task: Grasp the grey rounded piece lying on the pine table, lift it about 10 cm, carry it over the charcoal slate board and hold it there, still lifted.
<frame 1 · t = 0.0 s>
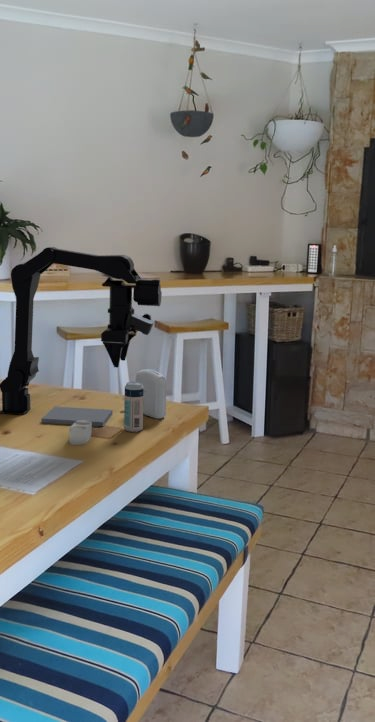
hand: (119, 363, 182), 15 cm above the table, fingers open, 9 cm apart
slate board: (78, 418, 182), on the table
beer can: (133, 430, 174), on the table
photo printer: (150, 415, 189), on the table
grey rounded piece: (80, 439, 165), on the table
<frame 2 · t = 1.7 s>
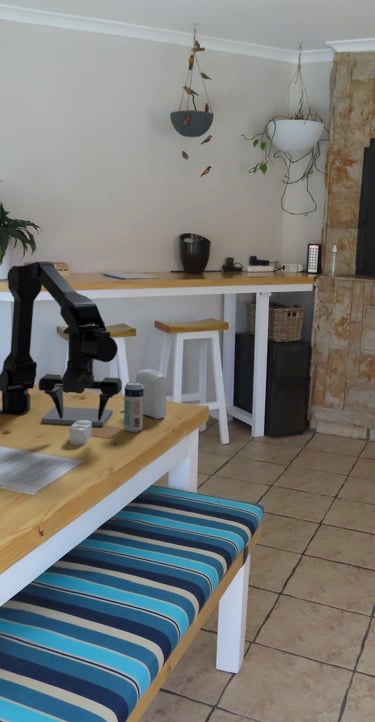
hand: (80, 419, 165), 5 cm above the table, fingers open, 9 cm apart
nothing on the table moved.
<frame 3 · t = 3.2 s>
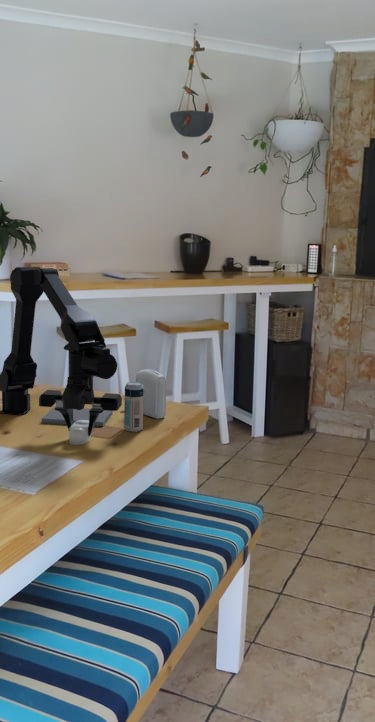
hand: (80, 435, 165), 1 cm above the table, fingers closed on grey rounded piece, 4 cm apart
grey rounded piece: (80, 439, 165), on the table, touching gripper
everything else where it was.
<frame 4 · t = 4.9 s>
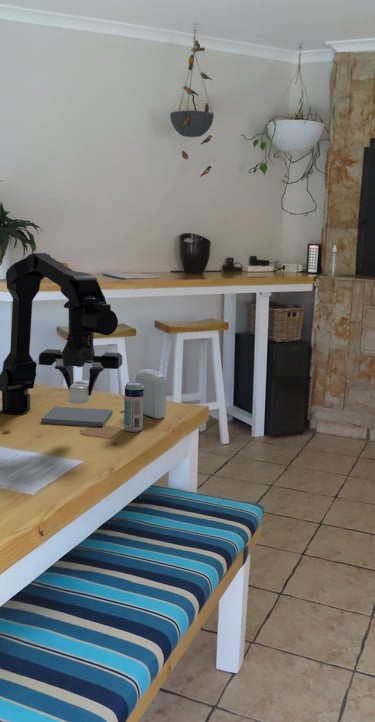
hand: (80, 394, 163), 11 cm above the table, fingers closed on grey rounded piece, 4 cm apart
grey rounded piece: (80, 399, 164), point 10 cm above the table, touching gripper
everything else where it was.
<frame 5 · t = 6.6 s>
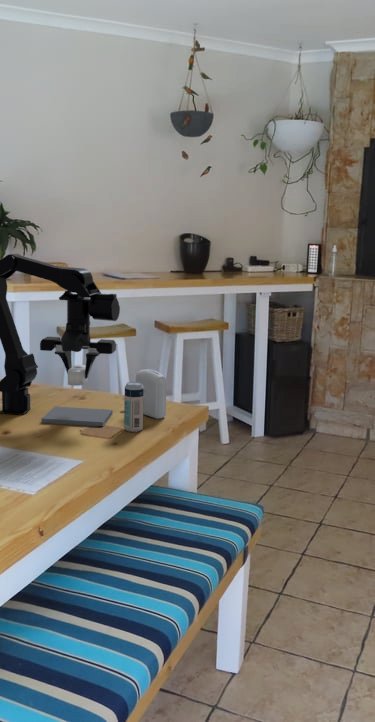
hand: (78, 377, 180), 11 cm above the table, fingers closed on grey rounded piece, 4 cm apart
grey rounded piece: (78, 381, 180), point 10 cm above the table, touching gripper
everything else where it was.
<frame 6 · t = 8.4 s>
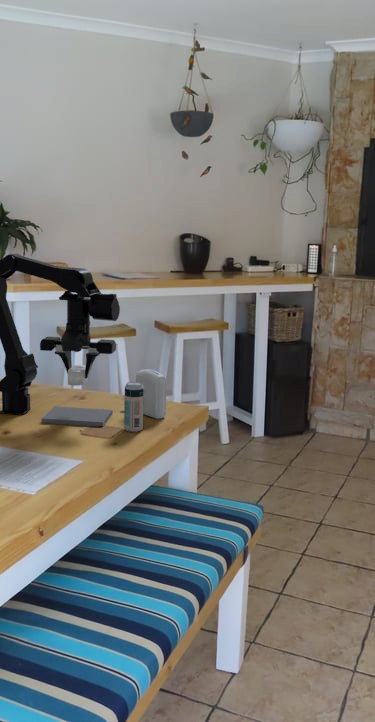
hand: (78, 377, 180), 11 cm above the table, fingers closed on grey rounded piece, 4 cm apart
grey rounded piece: (78, 381, 181), point 10 cm above the table, touching gripper
everything else where it was.
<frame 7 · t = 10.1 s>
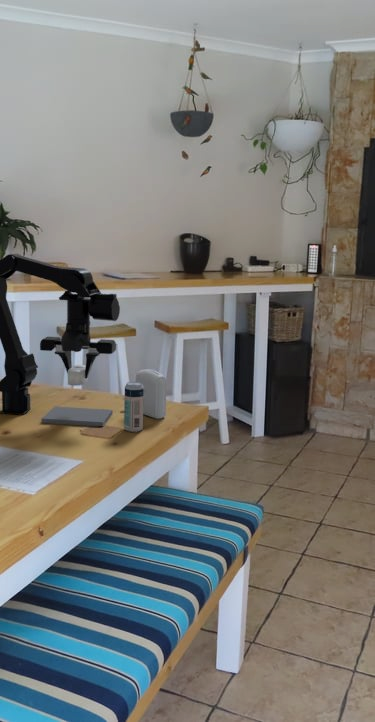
hand: (78, 377, 180), 11 cm above the table, fingers closed on grey rounded piece, 4 cm apart
grey rounded piece: (78, 381, 181), point 10 cm above the table, touching gripper
everything else where it was.
at the end: the gripper is holding grey rounded piece; grey rounded piece point 10.0 cm above the table; grey rounded piece 0.0 cm from the slate board (horizontally) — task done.
